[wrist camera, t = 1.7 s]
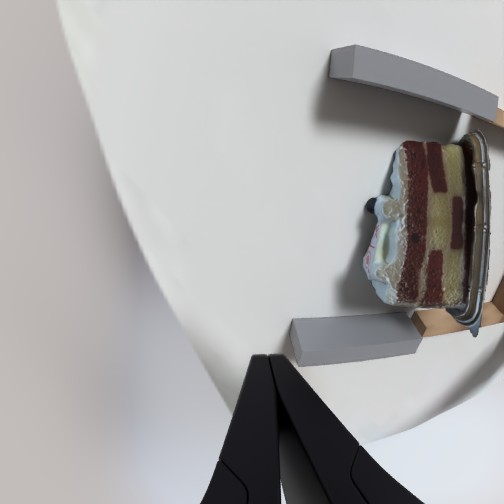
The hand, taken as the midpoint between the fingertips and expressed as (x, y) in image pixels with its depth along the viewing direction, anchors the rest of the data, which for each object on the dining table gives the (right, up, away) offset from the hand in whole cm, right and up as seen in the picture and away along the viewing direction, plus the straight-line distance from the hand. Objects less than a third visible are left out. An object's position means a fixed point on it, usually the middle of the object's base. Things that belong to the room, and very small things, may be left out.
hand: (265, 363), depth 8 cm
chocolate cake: (+9, +6, +10) cm, 15 cm away
